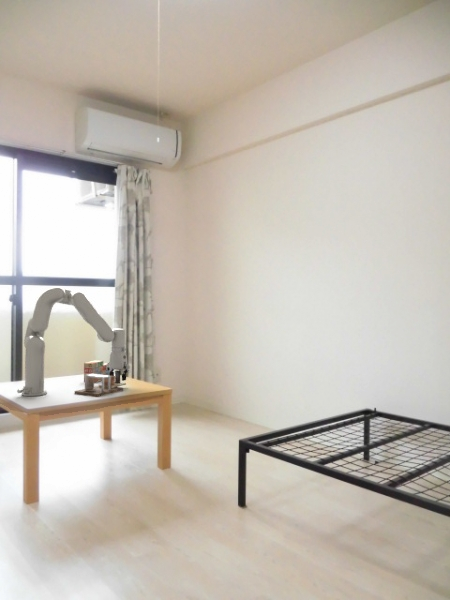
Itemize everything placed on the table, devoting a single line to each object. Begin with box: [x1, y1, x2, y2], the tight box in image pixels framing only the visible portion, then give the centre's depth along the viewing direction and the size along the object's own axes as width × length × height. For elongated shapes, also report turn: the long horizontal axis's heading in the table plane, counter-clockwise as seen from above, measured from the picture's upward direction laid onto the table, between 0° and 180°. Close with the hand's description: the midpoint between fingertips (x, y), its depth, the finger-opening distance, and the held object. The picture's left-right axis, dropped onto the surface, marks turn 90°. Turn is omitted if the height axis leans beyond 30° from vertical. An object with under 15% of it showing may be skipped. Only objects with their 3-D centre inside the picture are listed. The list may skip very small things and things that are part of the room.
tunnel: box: [84, 374, 111, 392], centre depth 260 cm, size 6×13×8 cm, turn 63°
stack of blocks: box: [83, 359, 110, 383], centre depth 300 cm, size 21×6×12 cm, turn 162°
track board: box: [74, 385, 124, 398], centre depth 262 cm, size 21×16×2 cm
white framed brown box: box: [98, 370, 127, 388], centre depth 272 cm, size 13×9×8 cm
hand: (117, 379), depth 276 cm, fingers open, 8 cm apart
